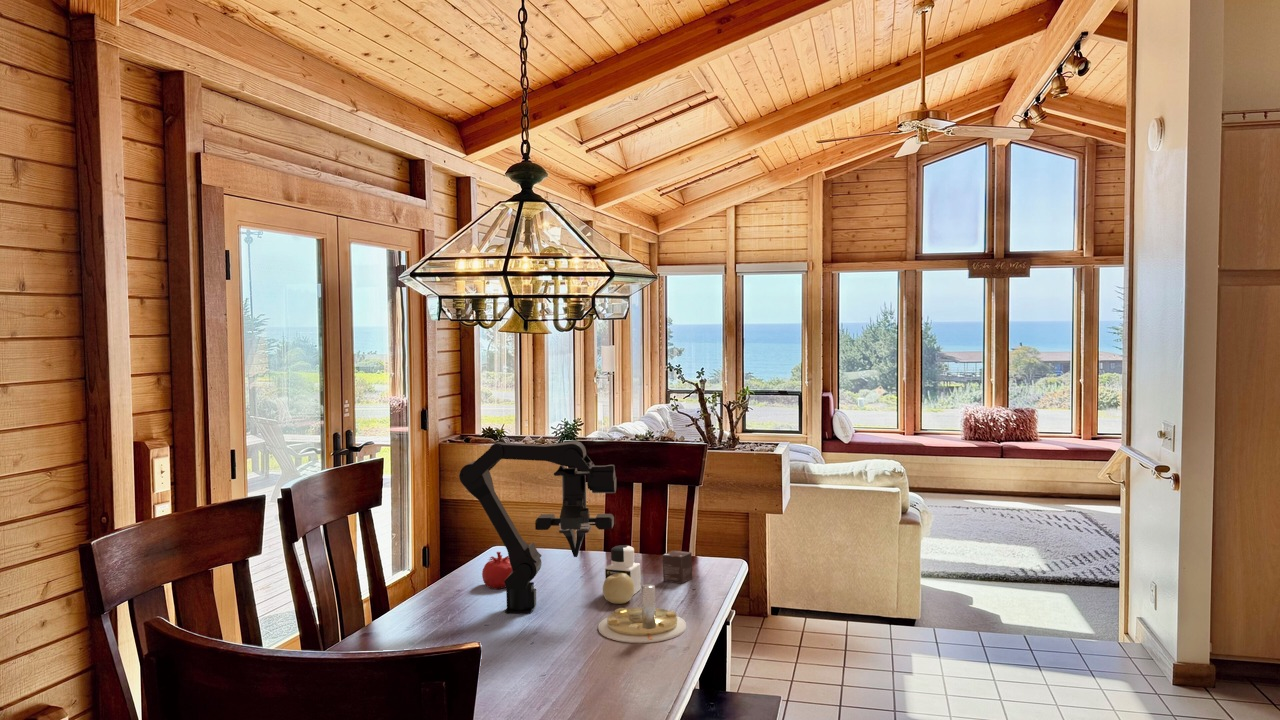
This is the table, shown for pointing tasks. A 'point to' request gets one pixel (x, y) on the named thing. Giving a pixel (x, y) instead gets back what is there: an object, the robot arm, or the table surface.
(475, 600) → the table surface
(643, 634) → the brass lugged disc
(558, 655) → the table surface
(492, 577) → the pomegranate
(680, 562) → the box
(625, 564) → the medicine bottle
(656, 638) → the base plate
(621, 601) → the apple
